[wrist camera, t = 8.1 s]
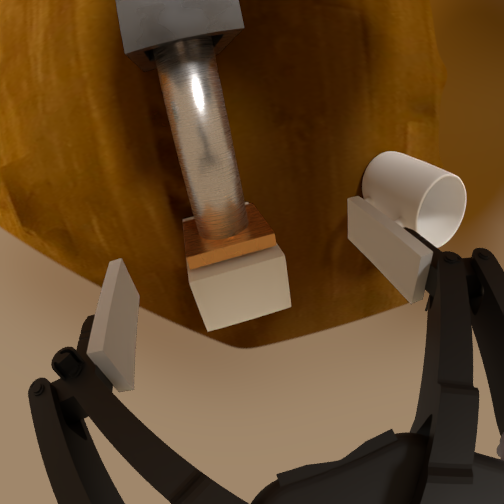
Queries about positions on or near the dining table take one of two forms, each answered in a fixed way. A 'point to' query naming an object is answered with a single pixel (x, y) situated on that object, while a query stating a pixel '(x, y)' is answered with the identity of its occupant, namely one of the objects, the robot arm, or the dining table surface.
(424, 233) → the mug
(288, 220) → the dining table surface
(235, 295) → the socket block
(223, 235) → the tube
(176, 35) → the sleeve
